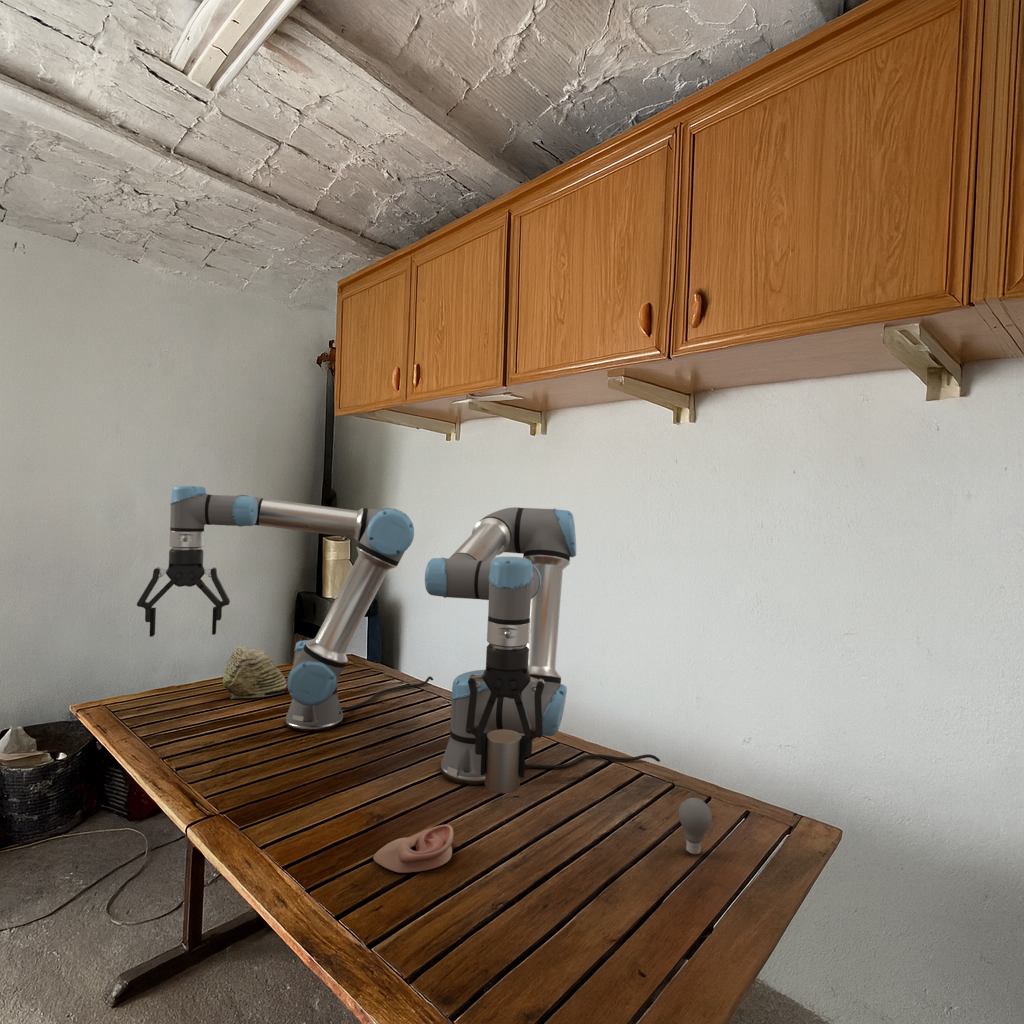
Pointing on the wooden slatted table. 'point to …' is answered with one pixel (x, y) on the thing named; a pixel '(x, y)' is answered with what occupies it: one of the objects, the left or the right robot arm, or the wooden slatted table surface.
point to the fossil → (252, 674)
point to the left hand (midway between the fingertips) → (183, 634)
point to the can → (503, 761)
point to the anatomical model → (417, 851)
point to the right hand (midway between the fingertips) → (502, 772)
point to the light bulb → (694, 822)
